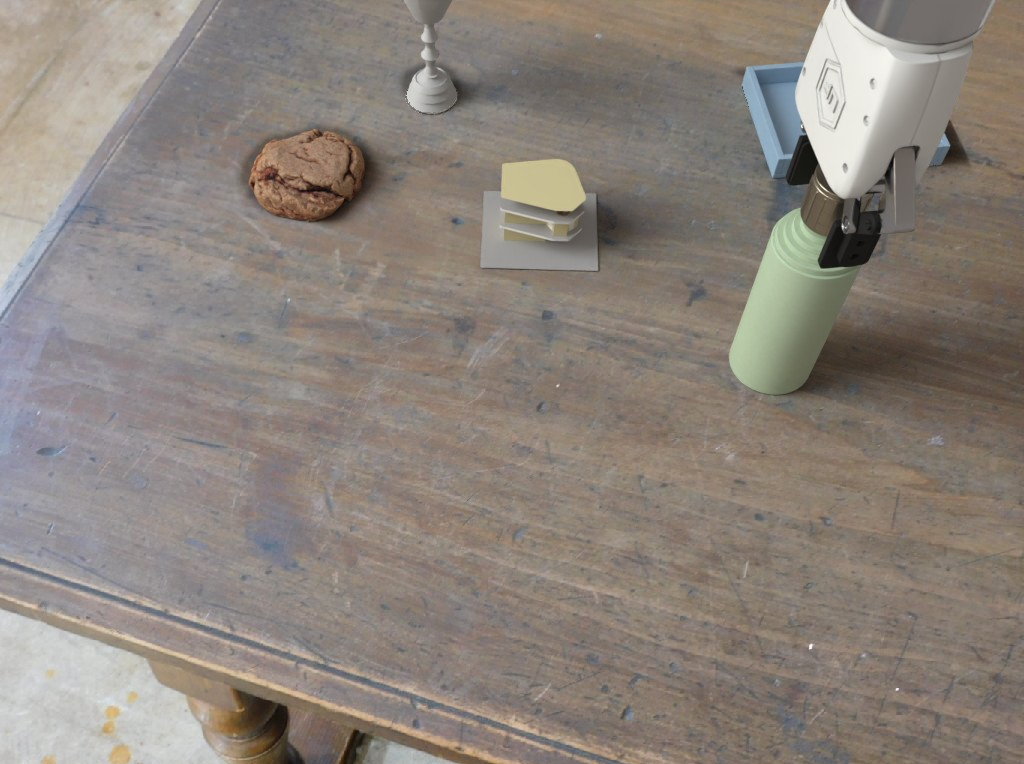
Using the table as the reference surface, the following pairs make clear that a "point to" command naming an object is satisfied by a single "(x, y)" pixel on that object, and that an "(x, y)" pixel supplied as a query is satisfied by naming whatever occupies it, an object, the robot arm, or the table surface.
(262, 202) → the cookie
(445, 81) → the chalice
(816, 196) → the bronze metal cap
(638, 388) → the table surface
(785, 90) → the tray
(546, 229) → the stacked layers on plate
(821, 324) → the bottle
